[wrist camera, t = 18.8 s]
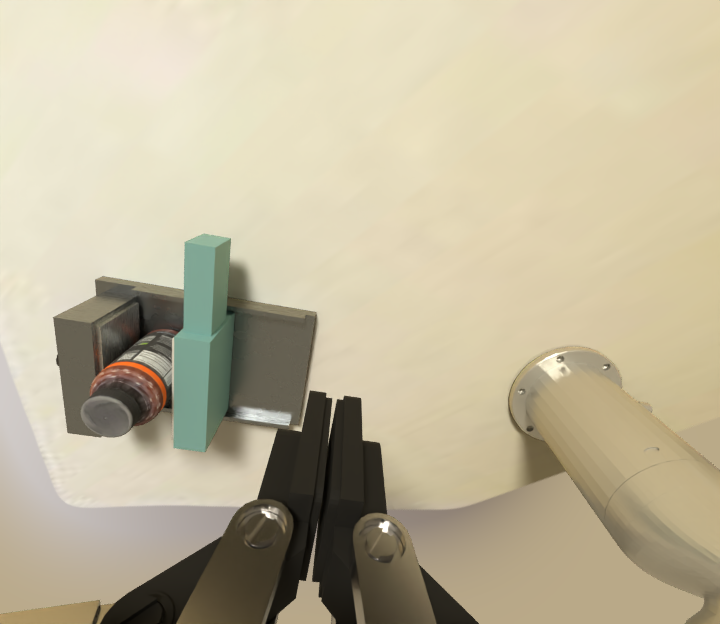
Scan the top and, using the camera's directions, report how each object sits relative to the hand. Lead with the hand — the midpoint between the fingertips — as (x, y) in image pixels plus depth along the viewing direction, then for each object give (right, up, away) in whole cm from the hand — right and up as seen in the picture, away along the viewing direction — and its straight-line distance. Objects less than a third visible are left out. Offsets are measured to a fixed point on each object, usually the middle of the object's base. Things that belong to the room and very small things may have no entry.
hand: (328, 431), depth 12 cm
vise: (-16, -1, +29) cm, 33 cm away
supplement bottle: (-19, 0, +28) cm, 34 cm away
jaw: (-14, +2, +27) cm, 30 cm away
